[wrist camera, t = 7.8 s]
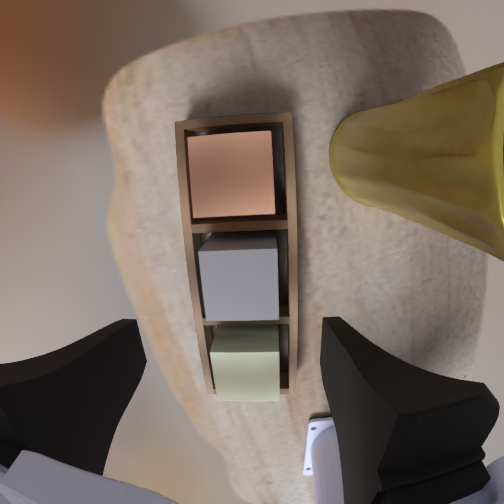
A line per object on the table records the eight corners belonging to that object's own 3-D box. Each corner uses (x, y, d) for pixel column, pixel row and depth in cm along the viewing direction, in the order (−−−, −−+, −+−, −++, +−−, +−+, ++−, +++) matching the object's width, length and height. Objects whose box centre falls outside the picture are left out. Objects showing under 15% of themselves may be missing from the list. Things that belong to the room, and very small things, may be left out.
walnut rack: (294, 376, 22) (297, 412, 18) (211, 377, 23) (202, 412, 19) (289, 117, 17) (294, 105, 13) (184, 125, 18) (162, 117, 14)
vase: (414, 113, 16) (594, 78, 3) (417, 205, 18) (593, 283, 4) (324, 109, 17) (450, 2, 3) (331, 208, 19) (462, 319, 5)
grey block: (277, 290, 20) (278, 319, 17) (217, 292, 21) (206, 320, 17) (275, 231, 19) (277, 248, 15) (212, 233, 19) (198, 251, 16)
